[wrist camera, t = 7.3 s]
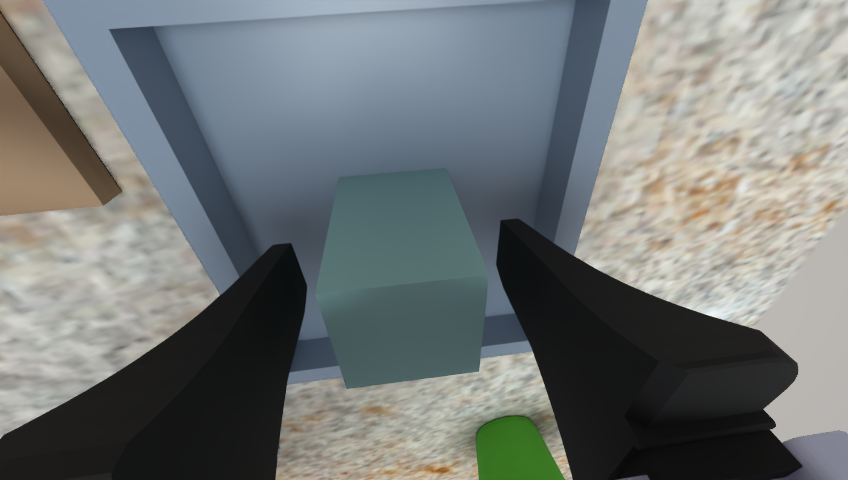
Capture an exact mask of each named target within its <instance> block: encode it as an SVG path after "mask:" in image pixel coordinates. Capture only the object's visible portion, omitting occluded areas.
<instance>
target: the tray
mask: <svg viewBox="0 0 848 480" xmlns="http://www.w3.org/2000/svg"><path fill="white" fill-rule="evenodd" d="M647 1H648V0H43V2H44V4H45V5H46V7H47V8H48V10H49V12H50V13H51V15H52V17H53V18H54V20H55V22H56V23H57V25H58V27H59V28H60V30H61V32H62V33H63V35H64V37H65V38H66V40H67V42H68V43H69V45H70V47H71V48H72V50H73V52H74V53H75V55H76V57H77V58H78V60H79V62H80V63H81V65H82V67H83V68H84V70H85V71H86V73H87V75H88V76H89V78H90V80H91V81H92V83H93V85H94V86H95V88H96V90H97V91H98V93H99V95H100V96H101V98H102V100H103V101H104V103H105V105H106V106H107V108H108V110H109V111H110V113H111V115H112V116H113V118H114V120H115V121H116V123H117V125H118V126H119V128H120V130H121V131H122V133H123V134H124V136H125V138H126V139H127V141H128V143H129V144H130V146H131V148H132V149H133V151H134V153H135V154H136V156H137V158H138V159H139V161H140V163H141V164H142V166H143V168H144V169H145V171H146V173H147V174H148V176H149V178H150V179H151V181H152V183H153V184H154V186H155V188H156V189H157V191H158V192H159V194H160V196H161V197H162V199H163V201H164V202H165V204H166V206H167V207H168V209H169V211H170V212H171V214H172V216H173V217H174V219H175V221H176V222H177V224H178V226H179V227H180V229H181V231H182V232H183V234H184V236H185V237H186V239H187V241H188V242H189V244H190V246H191V247H192V249H193V251H194V252H195V254H196V255H197V257H198V259H199V260H200V262H201V264H202V265H203V267H204V269H205V270H206V272H207V274H208V275H209V277H210V279H211V280H212V282H213V284H214V285H215V287H216V289H217V290H218V292H219V294H220V295H221V294H222V293H224V292H225V291H226V290H227V289H228V288H229V287H230V286H231V285H232V284H233V283H234V282H235V281H236V280H237V279H238V278H239V277H240V276H241V275H242V274H243V273H245V272H246V271H247V270H248V269H249V268H250V267H251V266H252V265H253V264H254V263H255V262H256V261H257V260H258V259H259V258H260V257H261V256H262V255H263V254H264V253H265V252H266V251H267V250H268V249H269V248H270V247H271V246H272V245H275V244H285V243H292V246H293V248H294V251H295V254H296V257H297V259H298V262H299V265H300V268H301V270H302V273H303V276H304V278H305V281H306V284H307V297H306V306H305V313H304V318H303V322H302V326H301V330H300V334H299V338H298V341H297V345H296V349H295V353H294V357H293V361H292V365H291V369H290V372H289V377H288V382H287V385H288V384H295V383H303V382H310V381H318V380H325V379H332V378H340V377H343V376H342V373H341V370H340V367H339V364H338V361H337V358H336V355H335V352H334V349H333V346H332V344H331V341H330V338H329V335H328V332H327V329H326V326H325V323H324V320H323V317H322V314H321V311H320V308H319V305H318V302H317V299H316V296H315V291H316V286H317V281H318V276H319V271H320V267H321V262H322V257H323V252H324V247H325V242H326V238H327V233H328V228H329V223H330V218H331V214H332V209H333V204H334V199H335V194H336V189H337V185H338V180H339V177H347V176H359V175H370V174H382V173H394V172H405V171H417V170H428V169H440V168H446V170H447V172H448V175H449V177H450V180H451V182H452V185H453V187H454V189H455V192H456V194H457V197H458V199H459V202H460V204H461V207H462V209H463V211H464V214H465V216H466V219H467V221H468V224H469V226H470V229H471V231H472V233H473V236H474V238H475V241H476V243H477V246H478V248H479V251H480V253H481V256H482V258H483V260H484V263H485V265H486V268H487V270H488V273H489V283H488V292H487V302H486V311H485V320H484V329H483V339H482V348H481V357H480V358H488V357H495V356H502V355H510V354H517V353H525V352H532V348H531V346H530V344H529V341H528V339H527V337H526V335H525V333H524V331H523V329H522V327H521V325H520V322H519V320H518V318H517V316H516V314H515V312H514V310H513V308H512V306H511V304H510V301H509V299H508V297H507V295H506V293H505V291H504V289H503V286H502V283H501V280H500V276H499V273H498V270H497V266H496V259H497V249H498V240H499V231H500V221H501V220H506V219H515V218H518V219H520V220H521V221H523V222H524V223H526V224H527V225H529V226H530V227H532V228H533V229H534V230H536V231H537V232H539V233H540V234H541V235H543V236H544V237H546V238H547V239H549V240H550V241H552V242H553V243H555V244H556V245H557V246H559V247H560V248H562V249H564V250H565V251H567V252H568V253H570V254H571V255H573V256H574V253H575V250H576V246H577V243H578V239H579V236H580V233H581V229H582V226H583V222H584V219H585V215H586V212H587V208H588V205H589V201H590V198H591V194H592V191H593V188H594V184H595V181H596V177H597V174H598V170H599V167H600V163H601V160H602V156H603V153H604V150H605V146H606V143H607V139H608V136H609V132H610V129H611V125H612V122H613V118H614V115H615V111H616V108H617V105H618V101H619V98H620V94H621V91H622V87H623V84H624V80H625V77H626V73H627V70H628V67H629V63H630V60H631V56H632V53H633V49H634V46H635V42H636V39H637V35H638V32H639V28H640V25H641V22H642V18H643V15H644V11H645V8H646V4H647Z"/></svg>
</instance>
